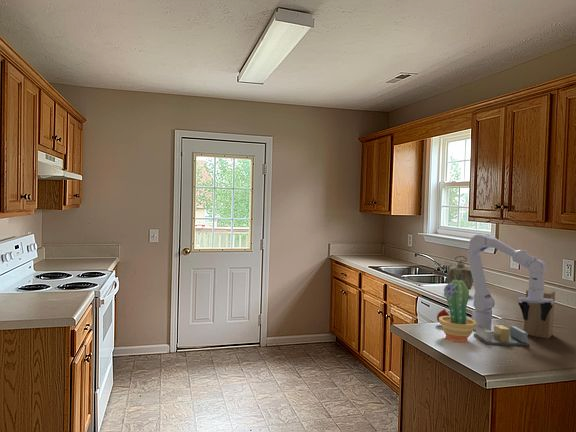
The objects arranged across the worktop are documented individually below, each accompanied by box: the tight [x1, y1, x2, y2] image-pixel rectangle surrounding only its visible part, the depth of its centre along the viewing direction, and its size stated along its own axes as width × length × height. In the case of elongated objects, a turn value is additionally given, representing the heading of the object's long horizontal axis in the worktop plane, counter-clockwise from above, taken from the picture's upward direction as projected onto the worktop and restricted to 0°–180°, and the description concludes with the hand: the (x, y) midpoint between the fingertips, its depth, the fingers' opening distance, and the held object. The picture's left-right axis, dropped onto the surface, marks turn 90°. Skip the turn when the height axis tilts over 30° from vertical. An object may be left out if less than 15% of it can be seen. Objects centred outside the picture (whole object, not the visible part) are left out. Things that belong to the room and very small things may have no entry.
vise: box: [473, 325, 530, 347], centre depth 192 cm, size 12×18×5 cm, turn 91°
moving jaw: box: [509, 325, 529, 343], centre depth 192 cm, size 10×2×4 cm, turn 1°
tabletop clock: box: [446, 255, 474, 291], centre depth 289 cm, size 14×9×25 cm, turn 82°
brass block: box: [493, 324, 510, 341], centre depth 192 cm, size 6×4×5 cm, turn 1°
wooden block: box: [523, 289, 556, 340], centre depth 204 cm, size 10×10×20 cm
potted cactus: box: [438, 280, 477, 343], centre depth 192 cm, size 15×16×25 cm
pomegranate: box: [436, 308, 450, 325], centre depth 213 cm, size 6×6×8 cm
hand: (534, 320), depth 192 cm, fingers open, 7 cm apart
